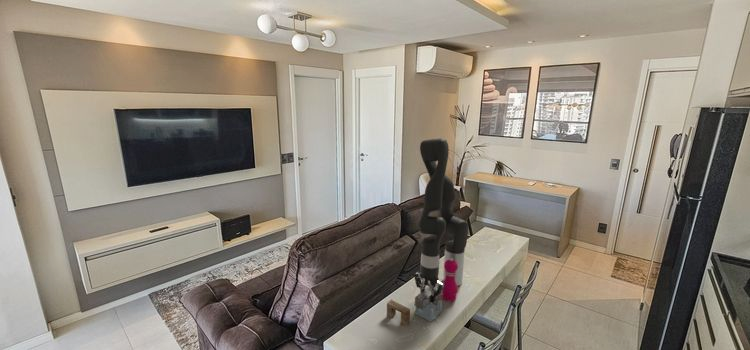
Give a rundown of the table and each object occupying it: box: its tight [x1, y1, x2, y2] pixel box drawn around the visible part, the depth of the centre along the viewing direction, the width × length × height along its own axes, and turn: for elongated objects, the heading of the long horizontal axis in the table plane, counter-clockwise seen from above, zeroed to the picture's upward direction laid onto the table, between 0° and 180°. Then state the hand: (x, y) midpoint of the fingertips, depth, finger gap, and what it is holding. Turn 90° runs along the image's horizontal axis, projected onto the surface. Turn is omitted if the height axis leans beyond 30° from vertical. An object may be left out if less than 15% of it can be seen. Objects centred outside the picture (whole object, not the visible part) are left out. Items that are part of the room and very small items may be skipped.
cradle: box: [413, 299, 443, 322], centre depth 133 cm, size 9×8×5 cm
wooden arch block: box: [386, 299, 411, 327], centre depth 129 cm, size 3×10×6 cm, turn 49°
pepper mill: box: [441, 257, 459, 302], centre depth 141 cm, size 7×7×20 cm
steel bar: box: [414, 284, 443, 310], centre depth 133 cm, size 16×4×4 cm, turn 139°
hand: (427, 299), depth 132 cm, fingers closed on steel bar, 4 cm apart
